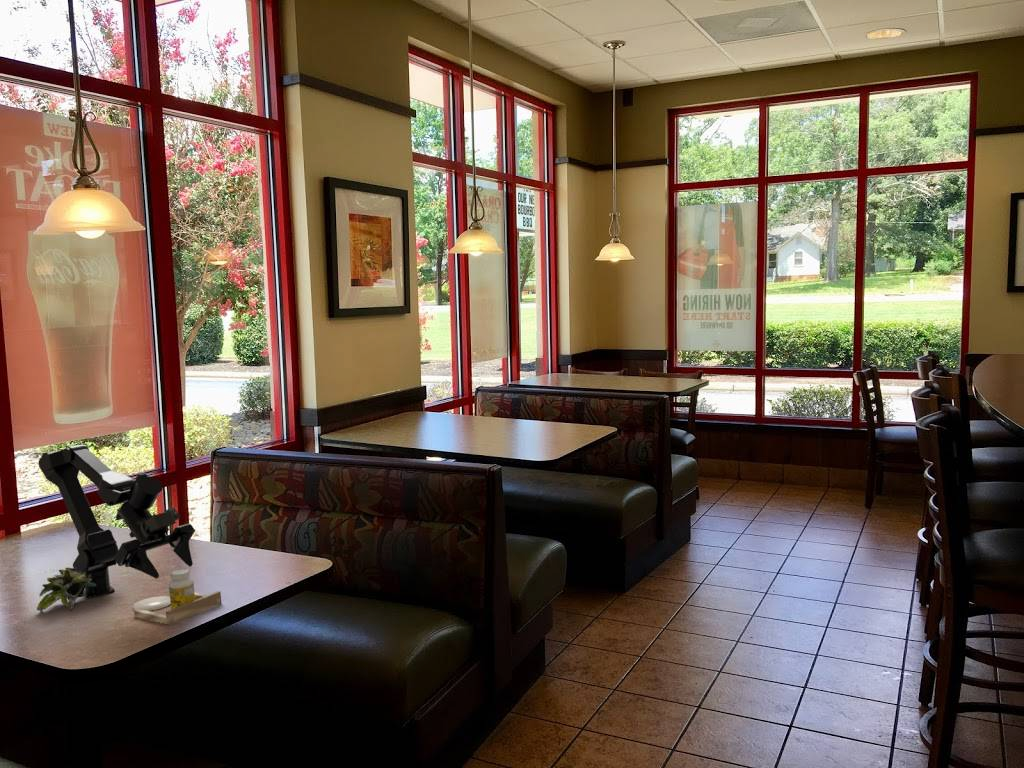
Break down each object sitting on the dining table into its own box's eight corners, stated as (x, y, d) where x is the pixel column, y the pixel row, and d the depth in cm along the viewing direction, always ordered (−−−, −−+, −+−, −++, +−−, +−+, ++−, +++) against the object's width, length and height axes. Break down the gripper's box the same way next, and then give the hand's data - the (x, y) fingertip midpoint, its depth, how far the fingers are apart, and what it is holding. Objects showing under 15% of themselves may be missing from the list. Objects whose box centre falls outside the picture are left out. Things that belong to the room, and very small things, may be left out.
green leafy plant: (73, 622, 204) (98, 576, 208) (79, 627, 195) (105, 579, 200) (27, 606, 199) (54, 559, 203) (31, 610, 190) (59, 561, 195)
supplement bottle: (200, 609, 194) (197, 569, 193) (181, 617, 189) (178, 576, 188) (185, 605, 197) (182, 566, 196) (166, 613, 192) (162, 573, 191)
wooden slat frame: (134, 616, 191) (133, 604, 190) (186, 596, 203) (185, 584, 203) (169, 625, 184) (168, 612, 184) (221, 603, 197) (220, 591, 197)
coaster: (128, 605, 199) (127, 603, 199) (166, 595, 205) (166, 593, 205) (139, 614, 192) (139, 612, 192) (178, 604, 198) (178, 602, 198)
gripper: (117, 509, 186) (153, 561, 182) (186, 491, 202) (221, 539, 198) (99, 540, 191) (134, 592, 186) (168, 520, 207) (202, 567, 202)
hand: (175, 571), depth 193 cm, fingers open, 9 cm apart
